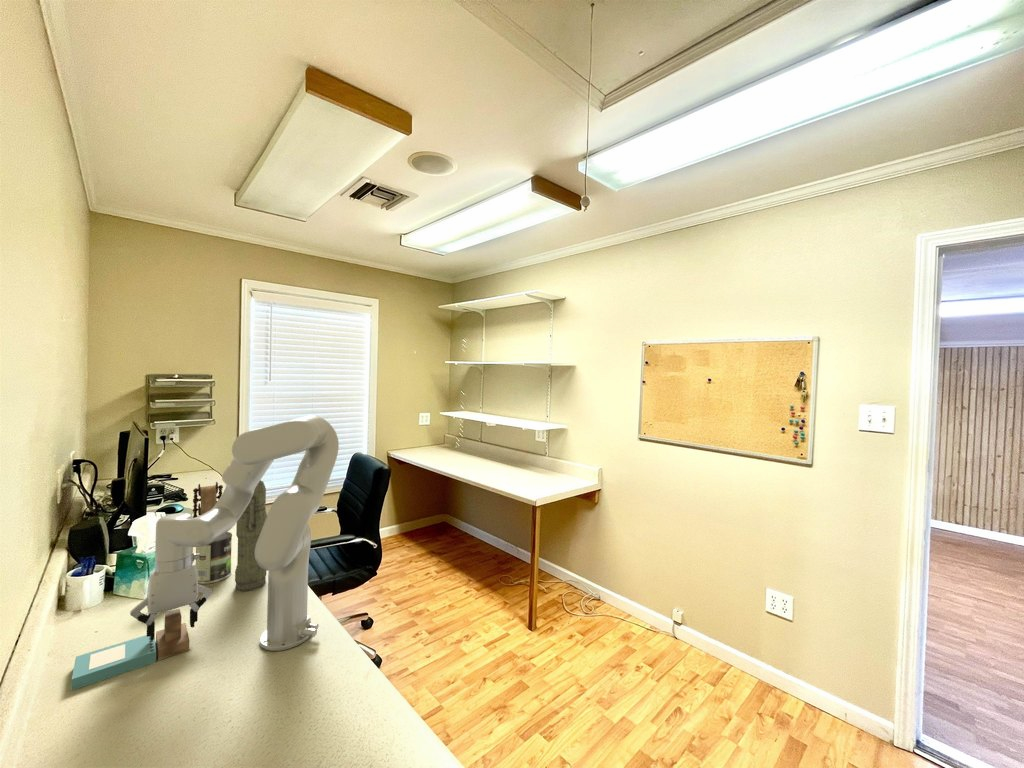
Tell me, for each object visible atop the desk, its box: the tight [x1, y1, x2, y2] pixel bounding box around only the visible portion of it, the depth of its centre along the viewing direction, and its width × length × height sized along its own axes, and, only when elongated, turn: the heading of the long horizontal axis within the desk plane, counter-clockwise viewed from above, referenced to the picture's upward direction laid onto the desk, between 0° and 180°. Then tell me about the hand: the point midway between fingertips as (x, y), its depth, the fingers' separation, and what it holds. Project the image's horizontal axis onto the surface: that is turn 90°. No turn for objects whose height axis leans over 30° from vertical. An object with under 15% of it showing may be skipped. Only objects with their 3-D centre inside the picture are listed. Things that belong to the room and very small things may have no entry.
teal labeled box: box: [71, 634, 157, 691], centre depth 98 cm, size 14×10×3 cm
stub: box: [155, 607, 190, 661], centre depth 105 cm, size 6×10×8 cm, turn 44°
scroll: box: [192, 481, 224, 518], centre depth 193 cm, size 15×15×20 cm
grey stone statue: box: [234, 479, 268, 592], centre depth 137 cm, size 9×12×35 cm
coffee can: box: [195, 531, 233, 585], centre depth 142 cm, size 10×10×14 cm
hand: (172, 630), depth 105 cm, fingers open, 7 cm apart
